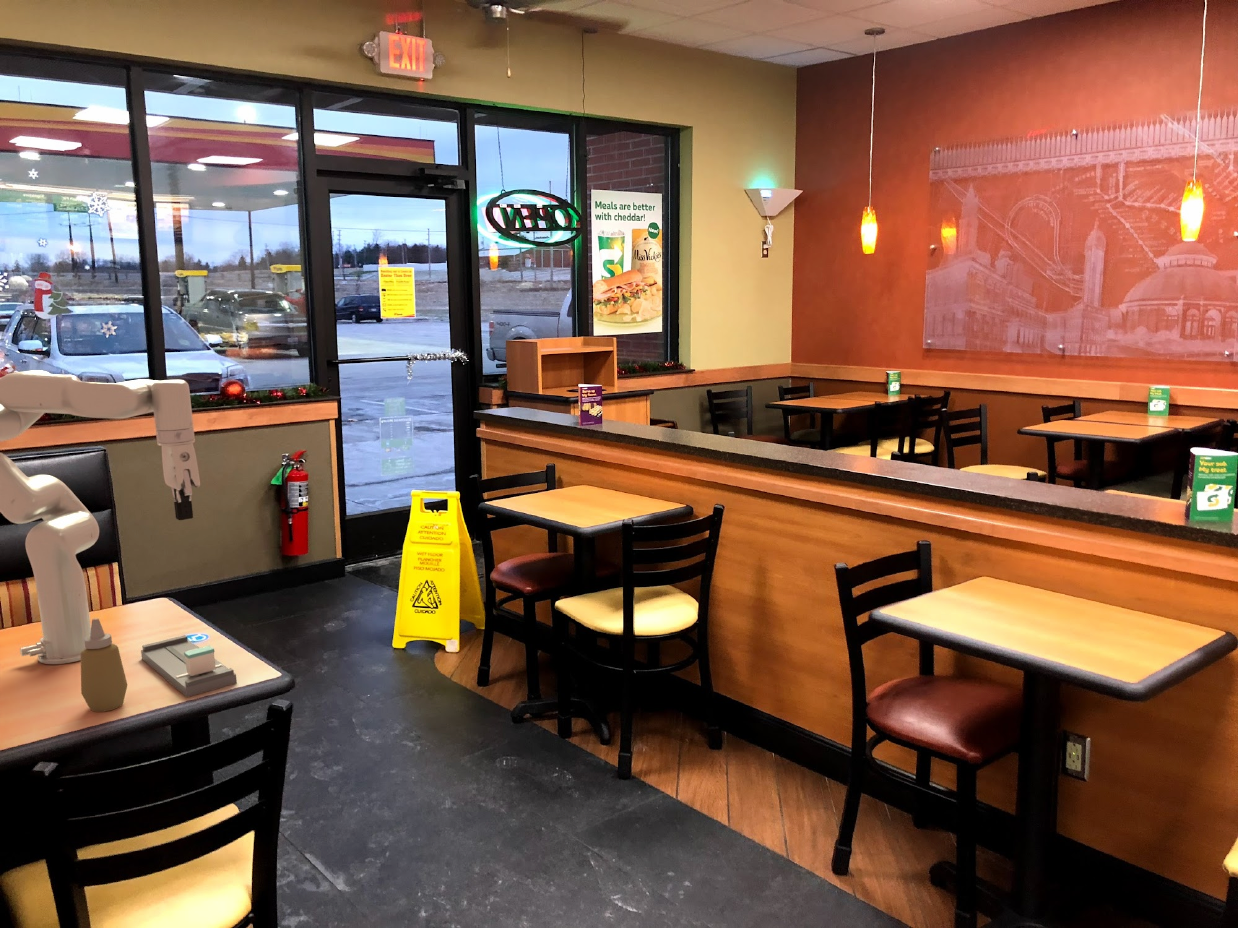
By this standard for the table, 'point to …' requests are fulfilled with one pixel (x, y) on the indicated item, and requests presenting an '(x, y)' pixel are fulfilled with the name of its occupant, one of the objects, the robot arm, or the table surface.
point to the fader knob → (200, 660)
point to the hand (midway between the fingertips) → (184, 518)
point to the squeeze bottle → (102, 671)
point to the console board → (184, 667)
